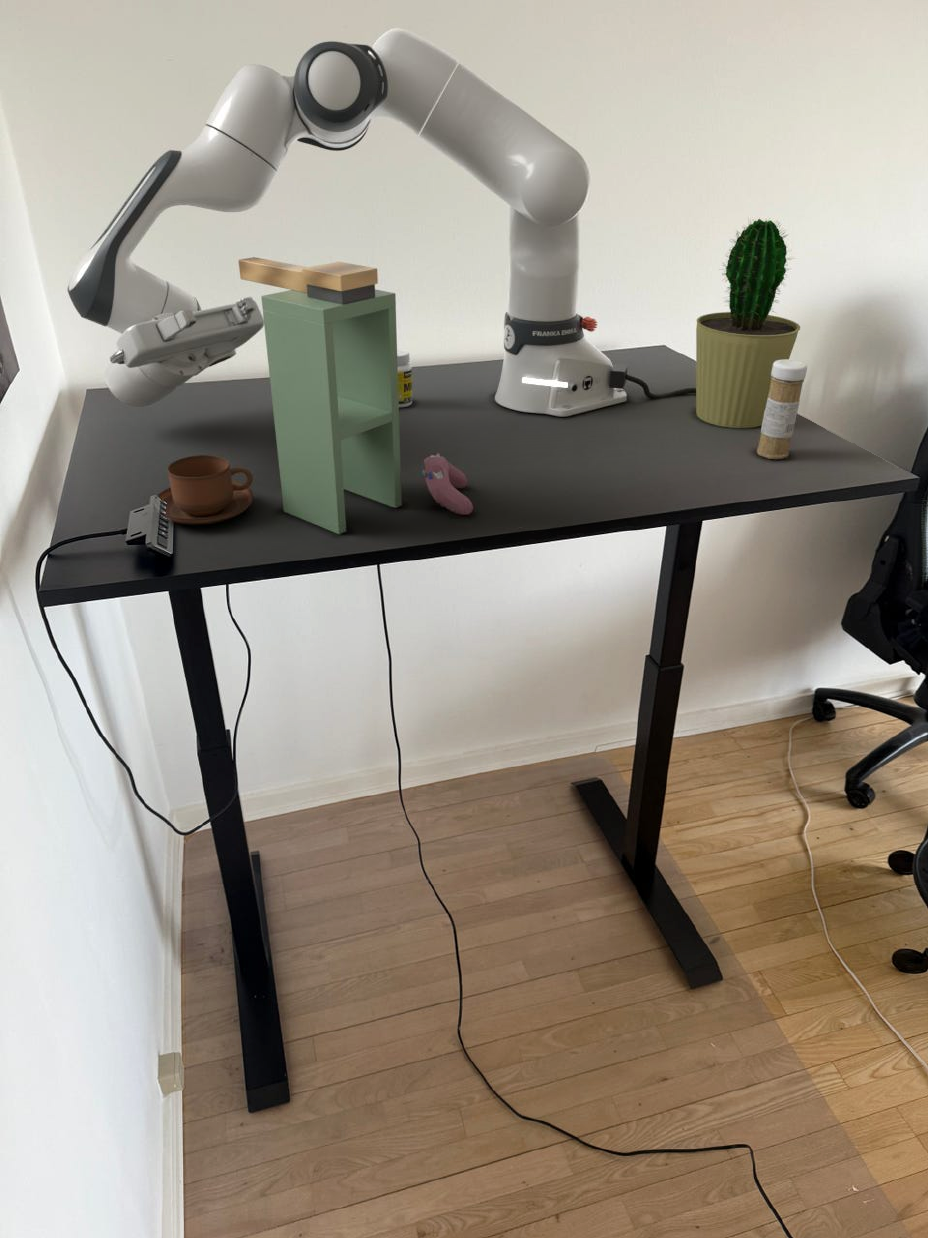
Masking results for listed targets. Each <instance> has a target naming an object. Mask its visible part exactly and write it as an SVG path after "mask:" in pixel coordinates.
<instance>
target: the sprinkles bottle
mask: <svg viewBox="0 0 928 1238" xmlns="http://www.w3.org/2000/svg"><path fill="white" fill-rule="evenodd" d="M807 371H808V365H807V364H806V362H804V361H800V360H798V359H796V360H795V359H789V360H788V359H785V360H777V361H775V362H774V363H773V367H772V372H771V376H772V377H771V378H772V380H771V384H770V389H769V394H768V399H767V404H766V409H765V412H764V418H763V423H762V425H761V429H760V437H759V441H758V446H757V449H756V453H757V455H758V456H760V457H762V458H765V459H768V460H774V461H775V460H784V459H786V458H788V457H789V454H790V452H789V450H790V447H791V446H790V445H791V442H792V437H793V436H794V435H793V434H794V429H795V424H796V421H797V415H798V412H799V406H800V401H801V394H802V390H803V384H804V382H805V379H806V377H807Z"/></svg>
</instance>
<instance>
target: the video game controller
mask: <svg viewBox="0 0 928 1238" xmlns="http://www.w3.org/2000/svg"><path fill="white" fill-rule="evenodd" d="M423 464H424V469H422V475H423V477H425V478H424V480H425V484H426V486H427V488H428V491H429V493H430V495H431V497H432V498H433V499H434V501H435V502H436V504H439V506H440V507H441V508H445V509H447V510H449V511H451V512H453V513H454V514H457V515H459V516H460V515H461V516H469V515H470V514H471V513H472V512H473V509H474V507H473V506H474V505H473V502H472V501H471V500H470V498H468V497H467V496H466V495H464V494H463V493H462V492H460V490H458V489H461V490H462V489H464V488H466V487H467V484H468V479H467V477H466V475H465V473H464V472H463V471H461V470H460V469H459V468H457V467H455V466H454V465H452V464H451V463H450V462H449V461H448V460H447V459H446V458H445V457H444V456H442V455H440V452H438V453H437V454H436V455H433V454H432V455H430V456H428V457H426V458H425V459H423Z"/></svg>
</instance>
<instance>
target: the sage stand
mask: <svg viewBox="0 0 928 1238" xmlns="http://www.w3.org/2000/svg"><path fill="white" fill-rule="evenodd" d="M396 301H397V299H396V293H395V292H391V291H387V290H380V289H376V288H375V297H373V298H369V299H364V300H360V301H356V302H351V303H347V304H339V303H334V302H329V301H324V300H320V299H315V298H310V297H308V296H307V293H304V292H299V291H295V290H290V289H288V290H286V291H285V290H283V291H279V292H274V293H270V294H264V295H261V307H262V315H263V318H264V327H263V328H264V335H265V345H266V354H267V355H266V356H267V364H268V373H269V383H270V392H271V393H270V395H271V403H272V412H273V420H274V421H273V422H274V430H275V440H276V441H275V442H276V450H277V459H278V468H279V476H280V477H279V478H280V487H281V495H282V496H281V497H282V507H283V512H284V513H287V514H288V515H291V516H293V517H296V518H299V519H300V520H303V521H306V522H307V523H310V524H313V525H316V526H318V527H321V528H323V529H324V530H327V531H330V532H333V533H334V534H337V535H341V534H344V533H345V532H347V521H346V519H347V518H346V505H345V491H348V492H350V493H353V494H356V495H359V496H361V497H364V498H366V499H369V500H372V501H375V502H377V503H380V504H383V505H385V506H389V507H391V508H394V509H398V508H400V507H401V506H402V505H403V504H402V503H403V502H402V501H403V499H402V469H401V465H402V464H401V438H400V437H401V435H400V433H401V431H400V407H399V398H398V364H397V350H398V335H397V302H396Z"/></svg>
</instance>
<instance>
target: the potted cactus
mask: <svg viewBox="0 0 928 1238" xmlns="http://www.w3.org/2000/svg"><path fill="white" fill-rule="evenodd" d="M747 221H749V222H748V226H747V225H745V224H743V226H742V231H741V232H740V231H736V232H735V235H736V238H734V239H733V238H730V241H731V243H733V244H734V246H731V247H730V248H729V255H728V253H725V257H726V258H728V259H726V261H727V262H726V263H723V264H722V266H723V267H724V269H723V276H724V277H725V282H727V281H728V283H729V286H727V287H726V290H725V291H724V293H727V294H729V296H725V297H722V299H726V298H729V299H728V300H727V302H726V301H723V304H724V303H726V304H727V305H725V307H726V306H728V307H729V310H727V311H721V312H713V313H707V314H703V315H700V316H699V317H697V318H696V326H695V327H696V329H695V337H696V339H695V347H696V348H695V349H696V350H695V354H696V355H695V358H696V359H695V360H696V361H695V388H696V393H695V398H696V400H695V412H696V417H697V418H698V419H700V420H701V421H703V422H704V423H705V422H706V423H708V424H711V425H714V426H719V427H725V428H733V429H749V428H757V427H762V423H763V418H764V412H765V409H766V404H767V399H768V394H769V389H770V384H771V380H772V378H771V377H772V376H771V372H772V367H773V363H774V362H775V361H777V360H785V359H788V360H790V358H791V354H792V352H793V349H794V346H795V343H796V342H797V341H796V340H797V337H798V334H799V331H800V330H801V326H800V324H799V323H797V322H796V321H793V320H792V319H788V318H785V317H781V316H777V315H771V314H770V312H771V313H772V312H773V313H775V314H777V312H775V311H774V310H773V308H772V307H773V304H774V303H776V304H778V302H779V300H777V299H776V298H778V297H776V294H777V295H780V292H781V288H780V287H779V286H780V285H782V286H786V285H787V284H786V283H784V281H786V279H787V276H786V273H787V270H791V268H788V267H787V268H786V266H787V260H788V261H791V260H794V259H795V258H793V257H792V256H791V257H787V254H788V253H787V252H788V250H787V248H788V247H789V246H788V245H789V244H787V245H786V243H785V241H784V239H785V238H786V237H788V236H789V233H788V234H785V232H786V229H783V228H781V225H782V224H780V223H778V221H777V220H775V221H773V220H770V219H767V218H765V220H763V219H761V218H758V219H757V220H754V219H752V220H751V219H749V218H748V219H747ZM780 228H781V229H780ZM779 229H780V230H779ZM782 231H783V232H782ZM784 234H785V235H784ZM787 246H788V247H787ZM790 251H792V249H791V250H789V252H790ZM719 270H722V269H719ZM785 276H786V277H785ZM721 282H723V280H722V281H721ZM774 305H775V304H774Z"/></svg>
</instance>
